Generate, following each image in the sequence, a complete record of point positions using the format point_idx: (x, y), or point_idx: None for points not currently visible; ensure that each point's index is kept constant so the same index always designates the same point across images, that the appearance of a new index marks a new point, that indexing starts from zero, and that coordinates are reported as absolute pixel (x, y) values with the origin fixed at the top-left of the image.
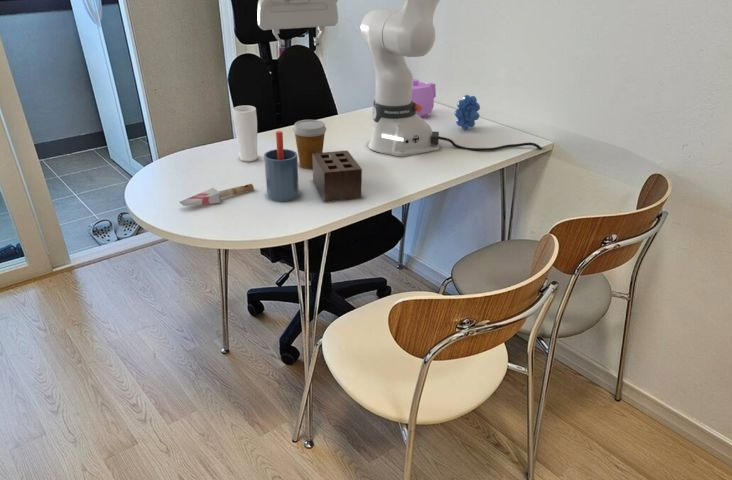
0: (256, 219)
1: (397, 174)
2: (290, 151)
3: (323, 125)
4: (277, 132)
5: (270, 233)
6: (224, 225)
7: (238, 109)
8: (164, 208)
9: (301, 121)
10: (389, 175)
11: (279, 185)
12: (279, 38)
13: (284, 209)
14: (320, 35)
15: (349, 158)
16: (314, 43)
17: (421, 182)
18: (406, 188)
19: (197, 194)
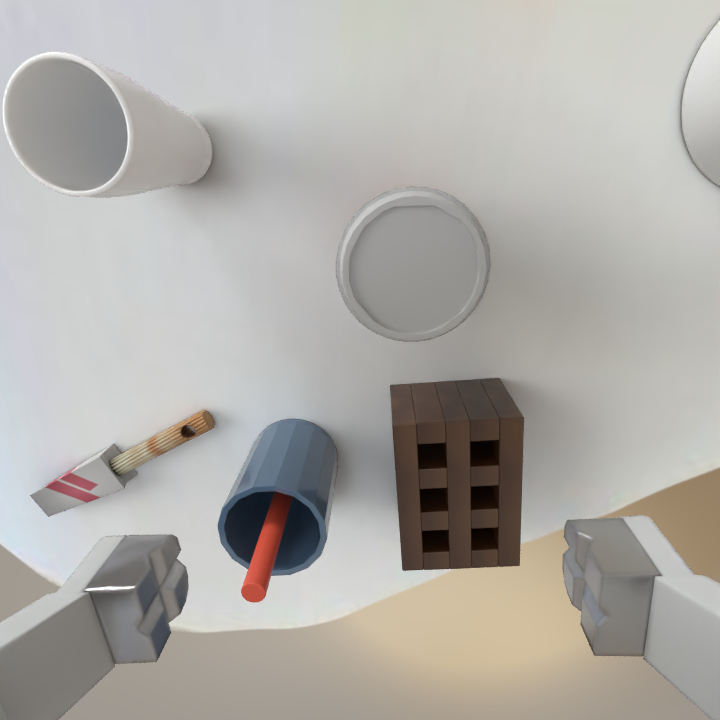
0: (230, 562)
1: (666, 377)
2: (307, 505)
3: (475, 298)
4: (246, 597)
5: (261, 619)
6: None
7: (35, 73)
8: (3, 479)
9: (383, 211)
10: (637, 380)
11: None
12: (75, 702)
13: None
14: (701, 700)
15: (507, 487)
16: (571, 552)
17: (707, 443)
18: (643, 473)
19: (66, 476)
